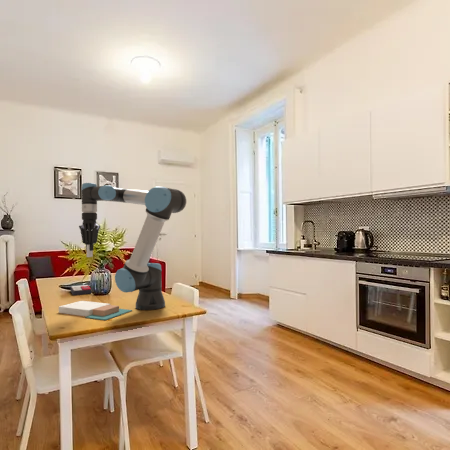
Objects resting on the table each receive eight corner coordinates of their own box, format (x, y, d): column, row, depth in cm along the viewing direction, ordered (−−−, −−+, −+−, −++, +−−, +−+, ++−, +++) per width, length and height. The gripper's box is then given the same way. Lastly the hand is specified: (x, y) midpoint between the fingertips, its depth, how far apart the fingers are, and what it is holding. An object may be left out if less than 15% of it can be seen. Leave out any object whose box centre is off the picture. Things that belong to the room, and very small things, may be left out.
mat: (113, 308, 167) (113, 307, 167) (132, 311, 163) (132, 310, 163) (85, 317, 151) (85, 316, 151) (105, 320, 146) (105, 319, 146)
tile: (108, 309, 164) (108, 304, 164) (119, 311, 161) (119, 306, 161) (92, 314, 155) (92, 309, 155) (103, 316, 152) (103, 310, 152)
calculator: (73, 290, 203) (70, 285, 216) (73, 297, 203) (70, 292, 216) (91, 288, 209) (88, 283, 221) (91, 295, 209) (88, 290, 222)
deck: (81, 306, 174) (81, 300, 174) (110, 309, 166) (110, 303, 166) (58, 312, 161) (58, 306, 161) (88, 316, 153) (88, 310, 153)
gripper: (74, 212, 172) (74, 257, 172) (93, 211, 167) (93, 257, 167) (86, 213, 179) (86, 256, 179) (104, 212, 174) (104, 256, 174)
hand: (89, 256), depth 173 cm, fingers closed
